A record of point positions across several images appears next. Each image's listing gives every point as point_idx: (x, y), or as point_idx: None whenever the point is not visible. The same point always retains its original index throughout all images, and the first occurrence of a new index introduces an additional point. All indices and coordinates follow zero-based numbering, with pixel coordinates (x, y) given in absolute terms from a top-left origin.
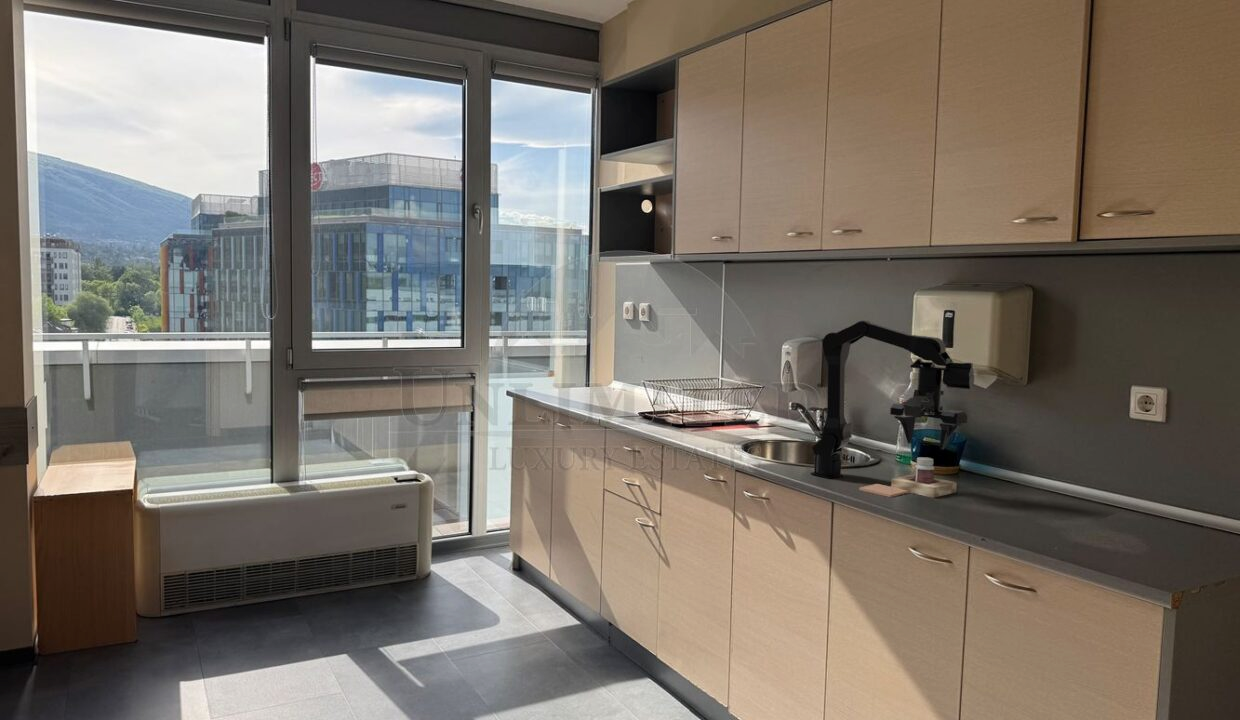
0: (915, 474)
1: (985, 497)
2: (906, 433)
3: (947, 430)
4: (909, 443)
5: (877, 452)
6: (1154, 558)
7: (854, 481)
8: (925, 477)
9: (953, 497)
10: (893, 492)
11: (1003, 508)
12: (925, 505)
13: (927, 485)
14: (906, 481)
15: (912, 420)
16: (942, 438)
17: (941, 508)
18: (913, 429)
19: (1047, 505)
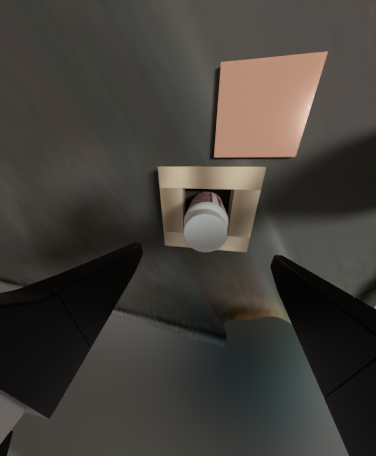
0: (219, 202)
1: (130, 239)
2: (321, 284)
3: (10, 292)
4: (274, 256)
5: None
6: None
7: (361, 152)
8: (194, 201)
9: (150, 201)
10: (227, 102)
11: (77, 199)
12: (131, 78)
13: (178, 177)
14: (226, 171)
15: (368, 436)
16: (97, 261)
17: (102, 89)
18: (301, 339)
19: (78, 257)
